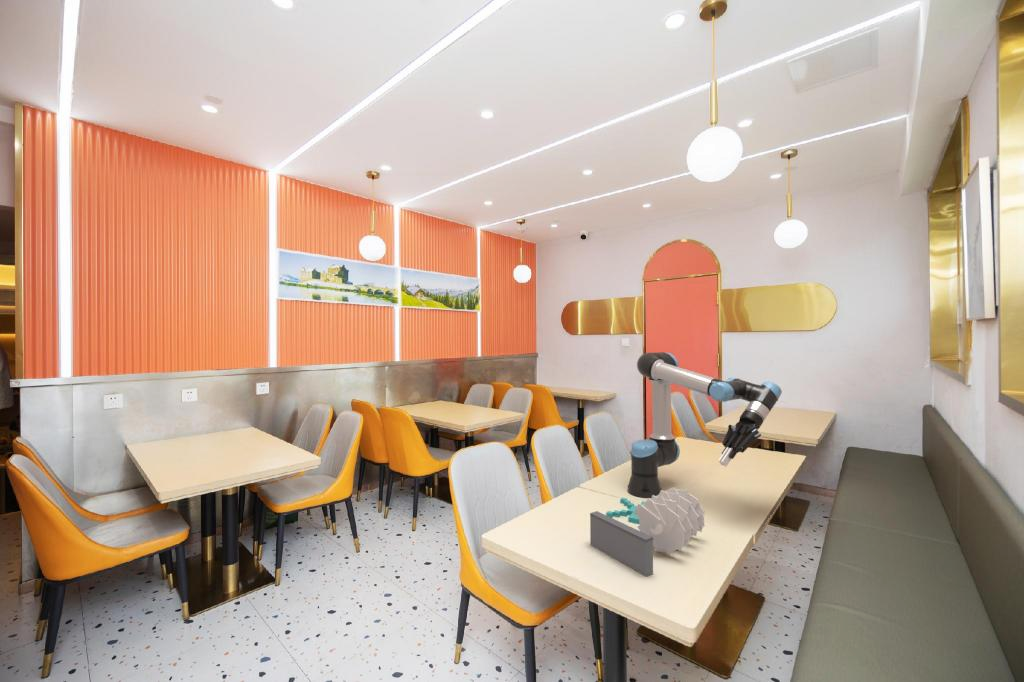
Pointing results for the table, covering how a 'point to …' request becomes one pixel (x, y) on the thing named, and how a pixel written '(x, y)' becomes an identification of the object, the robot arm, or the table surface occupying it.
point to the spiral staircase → (670, 519)
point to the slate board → (622, 542)
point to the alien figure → (626, 511)
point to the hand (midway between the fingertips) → (722, 463)
